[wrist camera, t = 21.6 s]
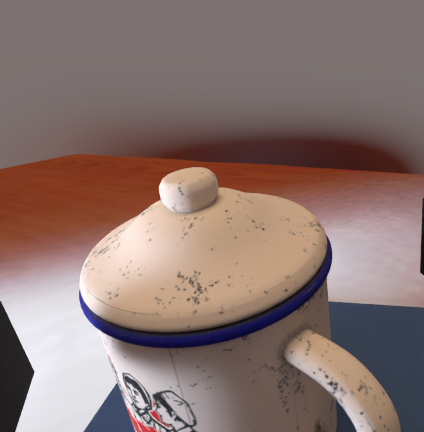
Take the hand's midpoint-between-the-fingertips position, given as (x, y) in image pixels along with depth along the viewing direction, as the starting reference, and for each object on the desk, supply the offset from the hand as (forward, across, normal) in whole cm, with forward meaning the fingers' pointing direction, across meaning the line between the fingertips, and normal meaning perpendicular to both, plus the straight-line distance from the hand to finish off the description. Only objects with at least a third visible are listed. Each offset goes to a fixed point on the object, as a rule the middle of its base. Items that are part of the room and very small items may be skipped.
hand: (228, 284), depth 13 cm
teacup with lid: (+1, 0, +9) cm, 9 cm away
